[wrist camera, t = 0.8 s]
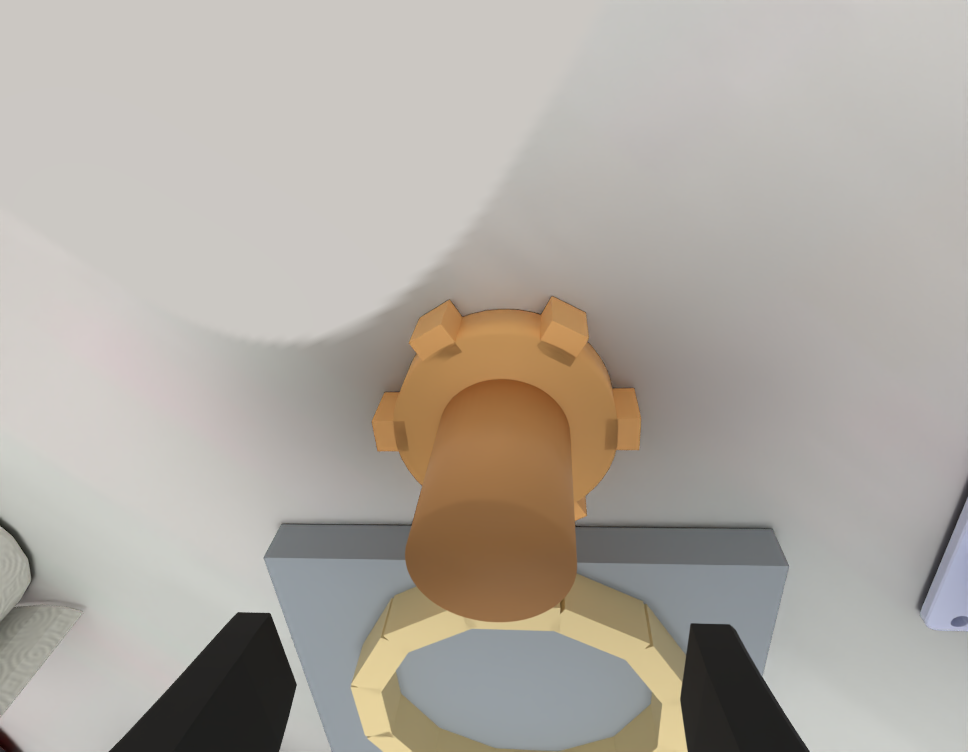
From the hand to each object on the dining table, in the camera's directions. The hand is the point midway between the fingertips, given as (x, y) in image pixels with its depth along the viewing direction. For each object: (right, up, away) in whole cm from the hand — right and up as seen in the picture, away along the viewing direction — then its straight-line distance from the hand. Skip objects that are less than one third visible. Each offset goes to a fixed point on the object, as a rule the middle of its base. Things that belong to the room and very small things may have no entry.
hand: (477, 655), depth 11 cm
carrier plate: (+2, -8, +14) cm, 16 cm away
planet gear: (+1, +4, +7) cm, 8 cm away
